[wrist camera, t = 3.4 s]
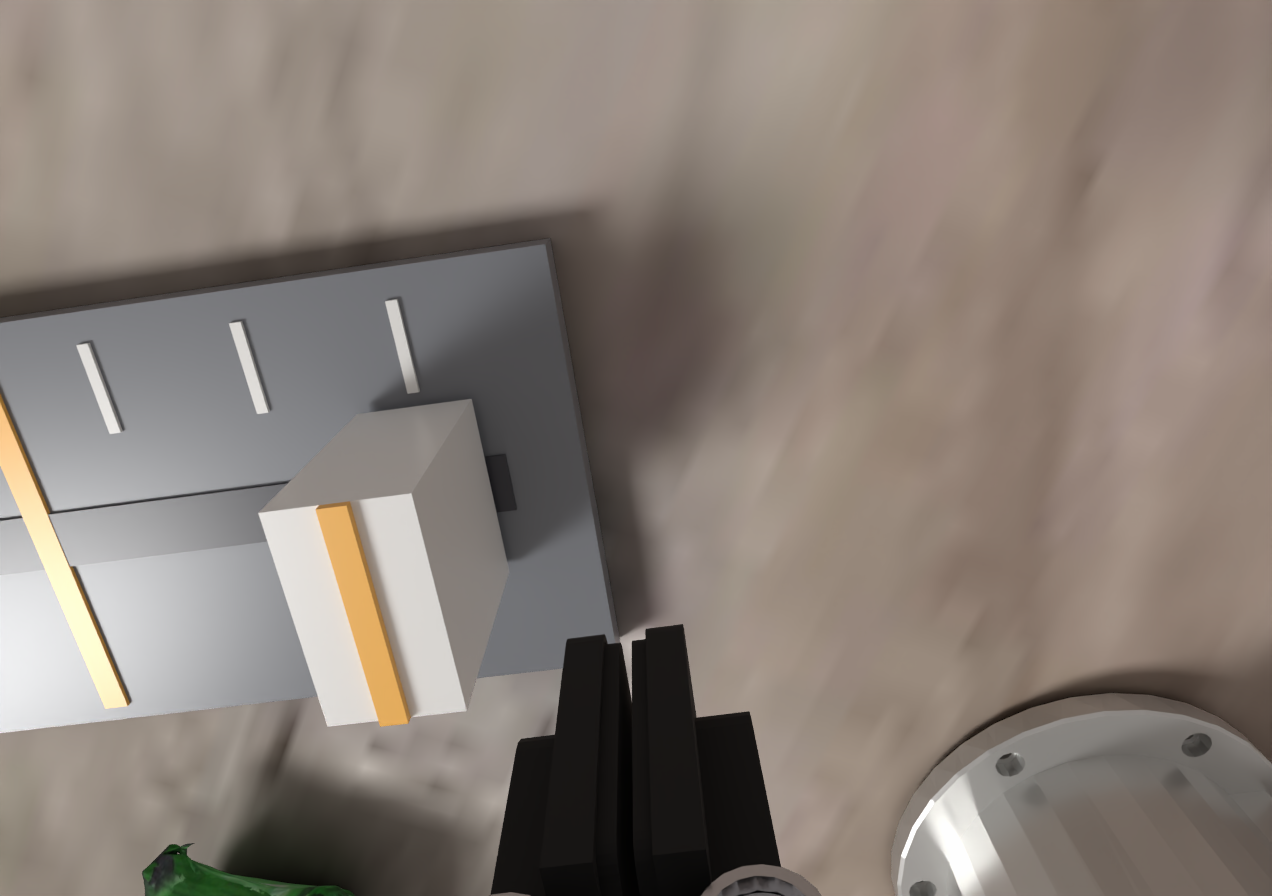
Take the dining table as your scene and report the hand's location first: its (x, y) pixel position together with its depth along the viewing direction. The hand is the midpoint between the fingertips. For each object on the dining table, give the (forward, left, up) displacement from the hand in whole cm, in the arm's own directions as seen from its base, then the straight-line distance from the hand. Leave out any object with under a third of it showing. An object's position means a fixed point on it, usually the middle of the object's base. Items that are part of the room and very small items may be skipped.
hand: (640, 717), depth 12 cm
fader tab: (+6, +1, -11) cm, 12 cm away
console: (+13, +1, -12) cm, 18 cm away
